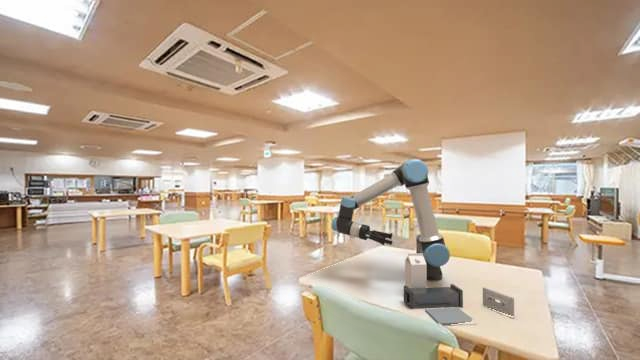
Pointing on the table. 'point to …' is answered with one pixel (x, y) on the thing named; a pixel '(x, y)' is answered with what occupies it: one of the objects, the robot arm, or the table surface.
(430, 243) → the robot arm
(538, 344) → the table surface
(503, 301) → the cassette
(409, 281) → the milk carton
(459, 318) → the slate mat
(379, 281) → the table surface
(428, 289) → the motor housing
